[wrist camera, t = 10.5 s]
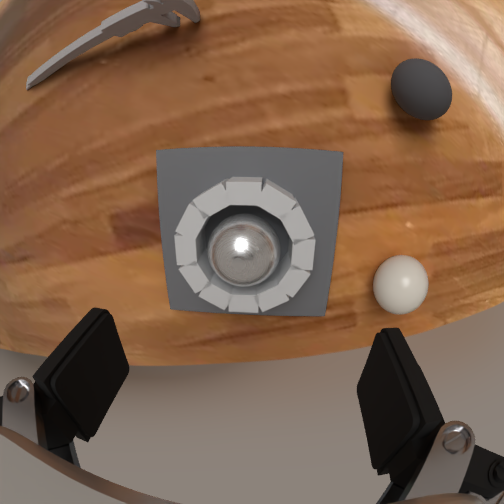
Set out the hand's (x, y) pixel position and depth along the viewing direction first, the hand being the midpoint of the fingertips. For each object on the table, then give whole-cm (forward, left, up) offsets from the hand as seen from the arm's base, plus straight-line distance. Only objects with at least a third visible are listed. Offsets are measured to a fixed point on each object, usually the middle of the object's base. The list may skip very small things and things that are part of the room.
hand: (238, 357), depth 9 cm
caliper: (+15, -18, -15) cm, 27 cm away
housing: (+1, 0, -14) cm, 14 cm away
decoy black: (-12, -13, -12) cm, 21 cm away
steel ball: (+1, 0, -11) cm, 11 cm away
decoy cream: (-12, +3, -12) cm, 17 cm away
